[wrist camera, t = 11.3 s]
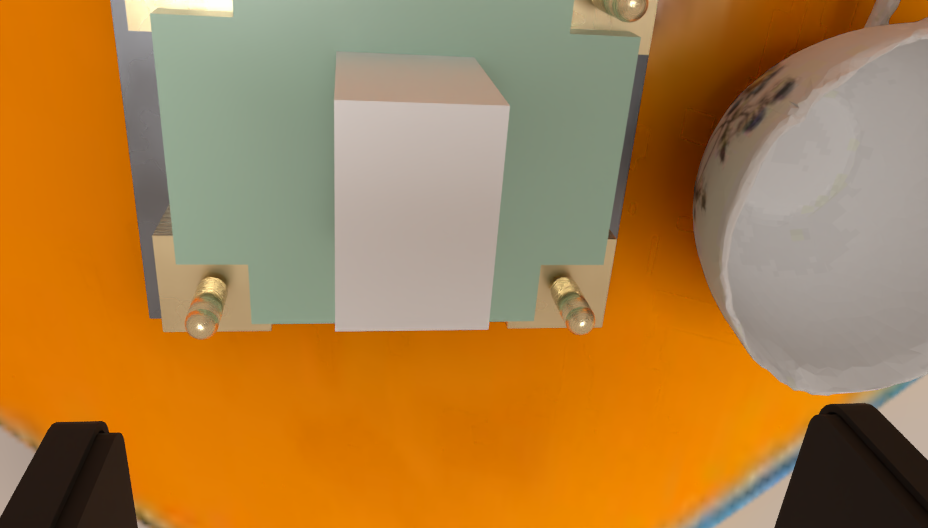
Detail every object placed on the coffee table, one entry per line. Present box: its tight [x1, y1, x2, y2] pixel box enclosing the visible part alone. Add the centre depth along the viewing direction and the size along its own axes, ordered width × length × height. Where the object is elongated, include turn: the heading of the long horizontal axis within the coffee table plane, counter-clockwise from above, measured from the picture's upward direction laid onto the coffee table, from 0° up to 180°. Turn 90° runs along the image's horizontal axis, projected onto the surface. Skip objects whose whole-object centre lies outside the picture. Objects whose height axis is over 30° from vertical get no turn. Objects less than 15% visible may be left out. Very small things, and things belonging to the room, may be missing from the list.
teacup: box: [693, 0, 928, 396], centre depth 27 cm, size 15×12×8 cm
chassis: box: [110, 0, 658, 340], centre depth 25 cm, size 18×16×7 cm
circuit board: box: [150, 0, 641, 331], centre depth 22 cm, size 14×12×6 cm
